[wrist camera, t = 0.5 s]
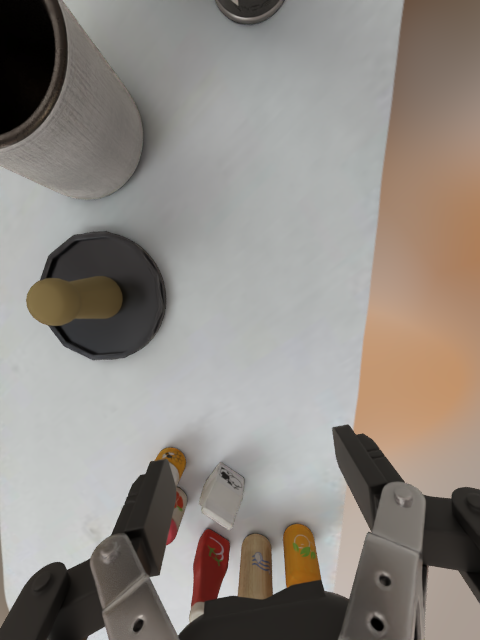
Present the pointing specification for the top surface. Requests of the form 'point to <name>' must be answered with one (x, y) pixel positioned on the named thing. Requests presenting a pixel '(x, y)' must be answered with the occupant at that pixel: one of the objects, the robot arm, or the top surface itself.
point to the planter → (62, 104)
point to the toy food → (256, 556)
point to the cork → (73, 300)
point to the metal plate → (135, 284)
